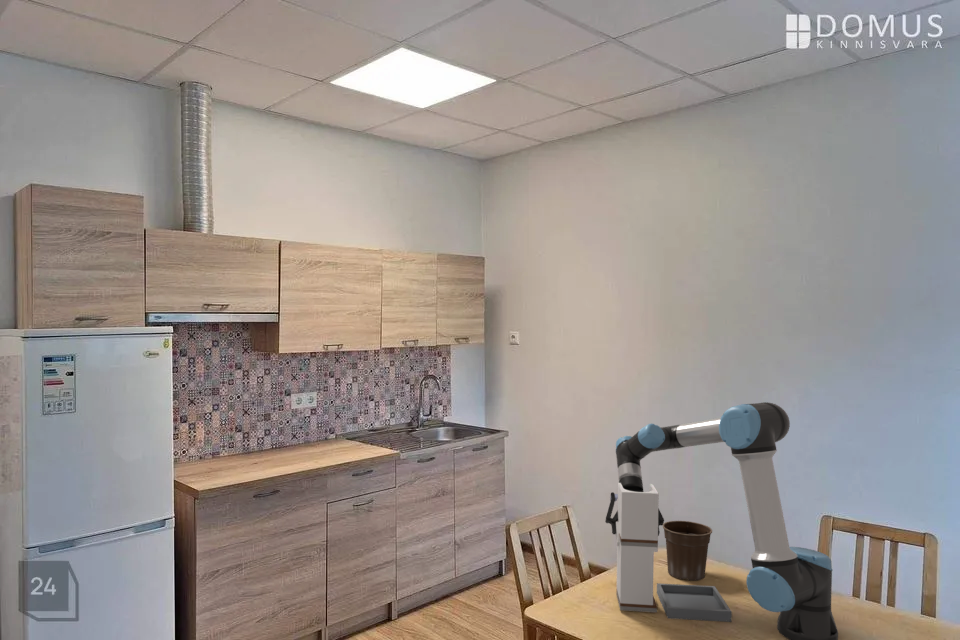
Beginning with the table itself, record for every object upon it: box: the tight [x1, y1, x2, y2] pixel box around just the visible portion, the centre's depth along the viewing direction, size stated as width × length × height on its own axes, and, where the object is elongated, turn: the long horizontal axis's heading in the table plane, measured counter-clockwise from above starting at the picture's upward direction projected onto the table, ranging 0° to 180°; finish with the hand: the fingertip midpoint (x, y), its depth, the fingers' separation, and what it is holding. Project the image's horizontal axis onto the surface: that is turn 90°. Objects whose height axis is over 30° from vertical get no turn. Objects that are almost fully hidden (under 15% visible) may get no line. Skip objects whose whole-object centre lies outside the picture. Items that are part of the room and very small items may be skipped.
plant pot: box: [662, 520, 713, 582], centre depth 223 cm, size 16×16×16 cm
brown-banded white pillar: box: [615, 482, 659, 613], centre depth 198 cm, size 11×11×35 cm
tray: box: [656, 583, 732, 623], centre depth 198 cm, size 18×18×3 cm
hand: (637, 544), depth 197 cm, fingers closed on brown-banded white pillar, 10 cm apart
